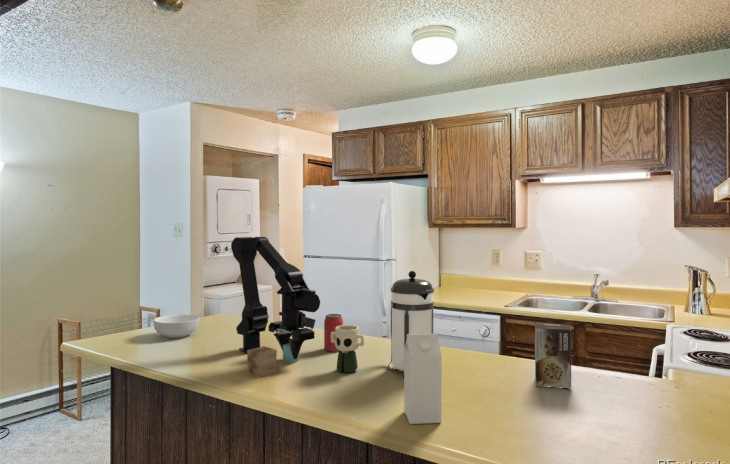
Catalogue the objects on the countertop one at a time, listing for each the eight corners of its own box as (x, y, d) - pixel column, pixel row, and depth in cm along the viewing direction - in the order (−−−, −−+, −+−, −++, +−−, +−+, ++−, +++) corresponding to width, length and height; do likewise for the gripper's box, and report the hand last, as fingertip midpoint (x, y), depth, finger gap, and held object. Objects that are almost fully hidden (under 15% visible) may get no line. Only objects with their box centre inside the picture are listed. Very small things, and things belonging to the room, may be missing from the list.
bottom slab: (248, 373, 137) (248, 361, 137) (266, 368, 141) (266, 357, 141) (258, 378, 132) (258, 366, 132) (276, 373, 136) (276, 361, 136)
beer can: (344, 347, 164) (344, 313, 164) (341, 352, 158) (341, 317, 157) (326, 346, 165) (326, 313, 165) (322, 352, 158) (322, 317, 158)
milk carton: (404, 411, 108) (404, 330, 108) (434, 410, 109) (434, 330, 109) (409, 424, 101) (409, 338, 101) (441, 423, 102) (441, 337, 102)
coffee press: (444, 366, 142) (444, 269, 141) (428, 383, 128) (429, 274, 127) (391, 359, 149) (391, 267, 149) (371, 374, 135) (371, 271, 134)
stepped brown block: (247, 362, 136) (247, 350, 136) (263, 357, 140) (263, 346, 140) (259, 366, 132) (259, 353, 132) (276, 361, 137) (276, 349, 137)
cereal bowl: (190, 341, 172) (189, 322, 172) (145, 341, 173) (145, 322, 172) (206, 330, 189) (206, 313, 189) (165, 330, 190) (165, 313, 189)
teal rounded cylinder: (280, 360, 149) (280, 344, 149) (293, 357, 152) (293, 342, 152) (288, 363, 145) (288, 347, 145) (301, 360, 148) (301, 345, 148)
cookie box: (569, 382, 128) (569, 324, 128) (571, 390, 122) (572, 329, 122) (534, 378, 131) (534, 322, 131) (534, 386, 125) (535, 326, 125)
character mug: (325, 372, 137) (325, 328, 137) (336, 365, 144) (336, 323, 143) (358, 376, 133) (358, 331, 133) (368, 369, 139) (368, 326, 139)
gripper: (328, 309, 147) (328, 358, 147) (296, 302, 161) (296, 346, 161) (298, 314, 139) (298, 365, 140) (267, 306, 153) (267, 352, 154)
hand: (290, 357), depth 149 cm, fingers closed on teal rounded cylinder, 5 cm apart
